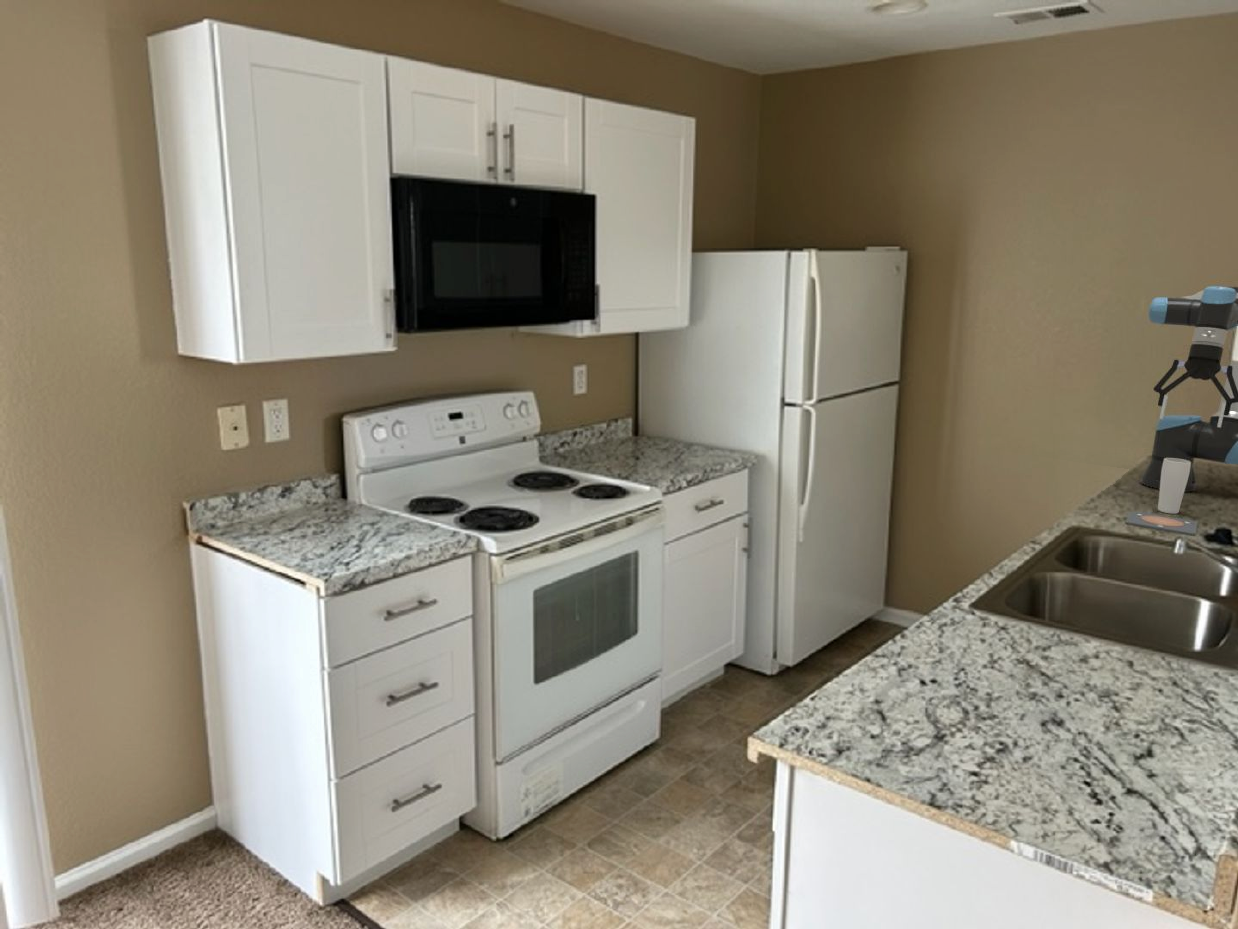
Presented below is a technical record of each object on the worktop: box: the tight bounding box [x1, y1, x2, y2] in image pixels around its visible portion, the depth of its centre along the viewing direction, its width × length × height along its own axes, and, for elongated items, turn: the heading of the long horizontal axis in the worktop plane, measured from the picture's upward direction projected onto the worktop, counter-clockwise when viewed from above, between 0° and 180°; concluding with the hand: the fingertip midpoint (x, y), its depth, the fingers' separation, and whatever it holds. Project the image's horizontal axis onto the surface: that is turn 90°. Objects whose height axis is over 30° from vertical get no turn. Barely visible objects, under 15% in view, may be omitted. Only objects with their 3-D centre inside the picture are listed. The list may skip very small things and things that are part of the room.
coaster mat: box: [1124, 510, 1199, 537], centre depth 249 cm, size 16×16×1 cm
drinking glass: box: [1157, 458, 1191, 515], centre depth 261 cm, size 7×7×15 cm
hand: (1189, 423), depth 252 cm, fingers open, 13 cm apart
